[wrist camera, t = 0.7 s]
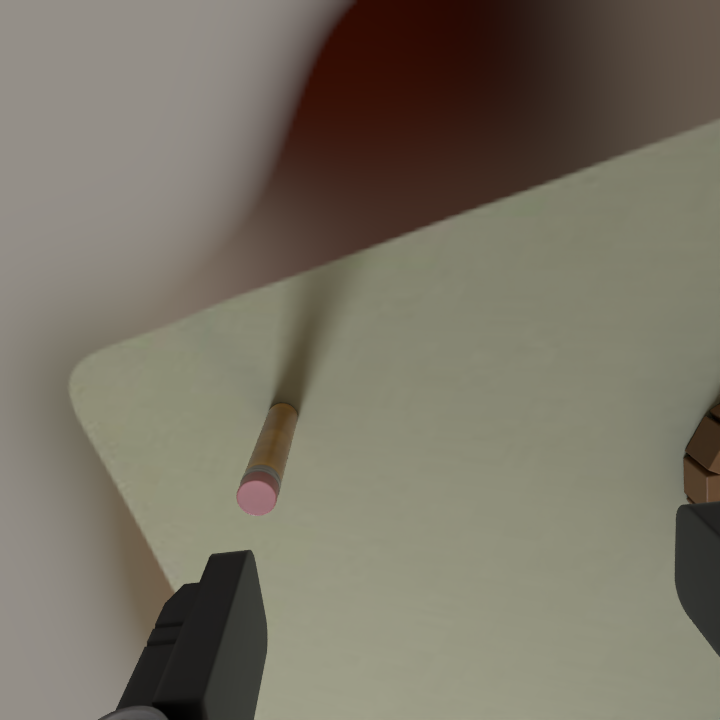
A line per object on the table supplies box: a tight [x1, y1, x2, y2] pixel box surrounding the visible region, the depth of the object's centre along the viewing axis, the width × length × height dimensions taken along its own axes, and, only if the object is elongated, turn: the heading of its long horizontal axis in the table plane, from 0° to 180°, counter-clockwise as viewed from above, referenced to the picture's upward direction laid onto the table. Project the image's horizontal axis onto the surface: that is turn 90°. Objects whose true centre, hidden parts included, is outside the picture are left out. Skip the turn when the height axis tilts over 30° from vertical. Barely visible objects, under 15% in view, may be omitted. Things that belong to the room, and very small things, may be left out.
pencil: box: [237, 403, 298, 516], centre depth 29 cm, size 2×2×9 cm
